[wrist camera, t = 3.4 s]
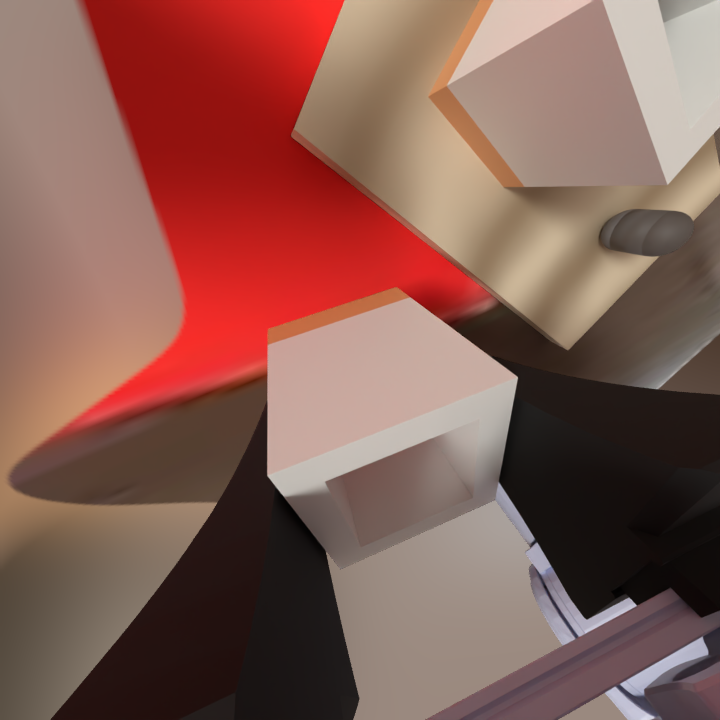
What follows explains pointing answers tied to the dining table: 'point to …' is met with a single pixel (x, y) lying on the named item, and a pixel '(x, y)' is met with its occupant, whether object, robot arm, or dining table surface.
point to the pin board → (482, 176)
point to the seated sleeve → (584, 89)
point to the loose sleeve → (382, 423)
